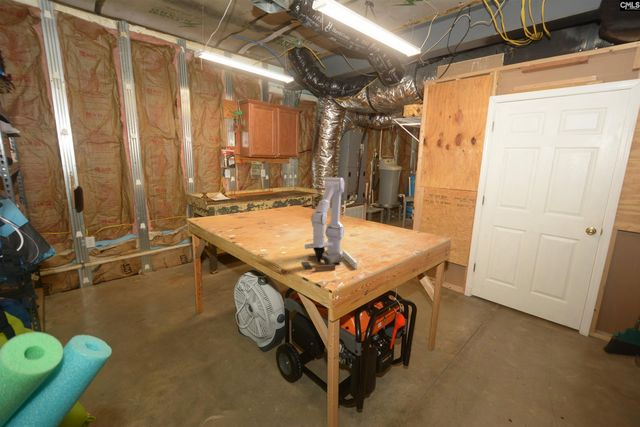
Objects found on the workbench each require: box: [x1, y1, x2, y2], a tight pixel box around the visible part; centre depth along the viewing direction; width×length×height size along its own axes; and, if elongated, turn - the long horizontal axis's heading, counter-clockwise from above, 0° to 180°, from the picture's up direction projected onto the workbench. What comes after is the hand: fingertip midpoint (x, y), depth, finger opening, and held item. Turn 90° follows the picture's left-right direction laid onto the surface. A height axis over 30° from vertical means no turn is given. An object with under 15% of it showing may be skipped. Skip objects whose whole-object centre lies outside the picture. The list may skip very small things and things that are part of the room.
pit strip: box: [301, 261, 313, 271], centre depth 144 cm, size 10×4×1 cm, turn 14°
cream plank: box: [342, 249, 358, 270], centre depth 149 cm, size 20×1×4 cm, turn 14°
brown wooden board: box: [308, 253, 336, 272], centre depth 146 cm, size 17×10×2 cm, turn 14°
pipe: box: [321, 251, 343, 265], centre depth 149 cm, size 6×13×8 cm
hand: (318, 261), depth 145 cm, fingers closed
